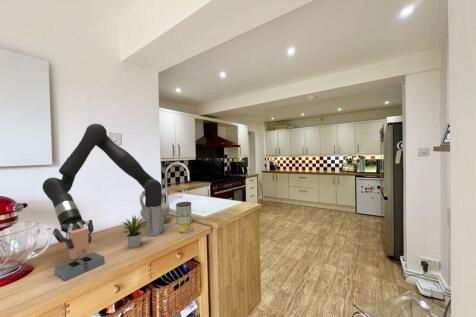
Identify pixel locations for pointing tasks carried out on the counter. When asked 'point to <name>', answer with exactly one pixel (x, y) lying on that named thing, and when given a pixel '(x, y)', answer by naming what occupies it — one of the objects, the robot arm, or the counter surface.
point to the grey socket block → (78, 266)
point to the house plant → (134, 232)
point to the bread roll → (185, 228)
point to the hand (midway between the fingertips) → (81, 245)
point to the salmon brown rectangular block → (79, 242)
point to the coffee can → (183, 213)
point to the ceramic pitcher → (164, 205)
